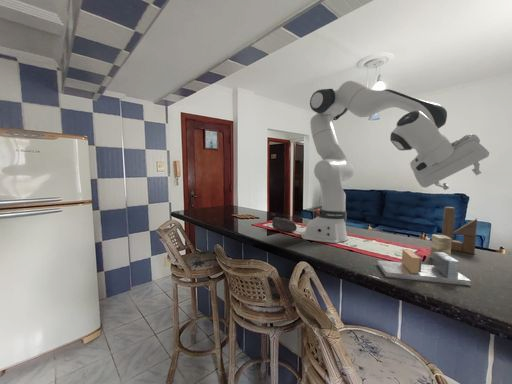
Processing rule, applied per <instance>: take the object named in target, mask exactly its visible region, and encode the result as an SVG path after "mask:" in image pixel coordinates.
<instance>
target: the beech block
mask: <svg viewBox="0 0 512 384" xmlns="http://www.w3.org/2000/svg"><path fill="white" fill-rule="evenodd" d="M451 244H452V239H451V238H449V237H447V236H445V235H442V234H431V245H430V246H431V248H430V258H431V259H433V252H444V253H446V254H447V255H449V256H451V254H452V250H451ZM451 257H452V256H451Z"/></svg>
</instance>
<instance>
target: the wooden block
mask: <svg viewBox="0 0 512 384" xmlns="http://www.w3.org/2000/svg"><path fill="white" fill-rule="evenodd" d="M455 211H456V208H455V207H453V206H445V207H443V218H442V219H443V221H442V229H441V231H442V232H441V235H445V236H447V237H449V238H451V239H452V244H451V251H456V252H461V253H466V254H471V255H474V254H475V253H476V252H475V251H476V239H477V236H476V235H477V225H478V218H475V219H473V220H472V221H470V222H468V223H466V224H465V225H463V226H461V227H459V228H457V229H456V230H454V225H455ZM454 235H460V236H462V237H463V238H462V239H463V240H462V242H461V241H459V240H455V239H453V238H454Z"/></svg>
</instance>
